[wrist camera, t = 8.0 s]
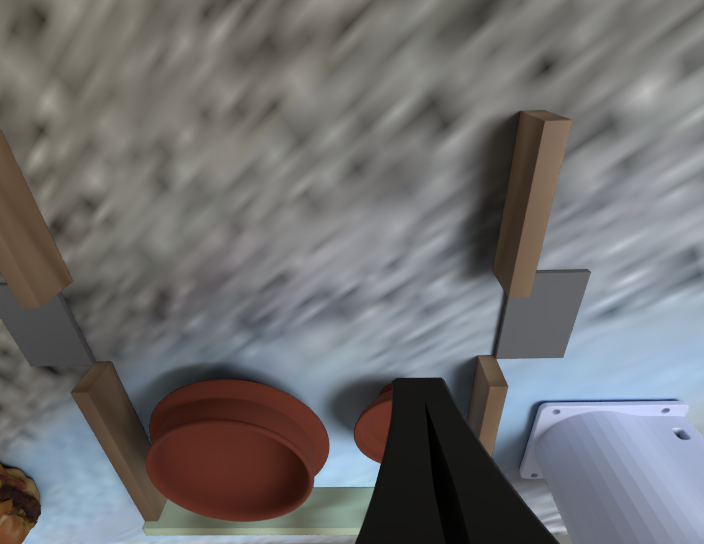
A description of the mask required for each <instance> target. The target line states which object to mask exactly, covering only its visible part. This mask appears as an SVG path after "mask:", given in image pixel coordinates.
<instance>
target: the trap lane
mask: <svg viewBox="0 0 704 544" xmlns="http://www.w3.org/2000/svg"><path fill="white" fill-rule="evenodd" d="M571 124H572V120H571V119H568V118H565V117H562V116H559V115H556V114H554V113H551V112H548V111H545V110H538V111H521V113H520V118H519V124H518V130H517V136H516V141H515V147H514V153H513V159H512V164H511V170H510V176H509V182H508V187H507V193H506V199H505V204H504V210H503V216H502V222H501V227H500V233H499V239H498V245H497V250H496V256H495V262H494V268H493V273H494V274H495V276H496V278H497V280H498V281H499V283H500V285H501V286H502V288H503V290H504V291H505V293H506V295H507V296H508V298H530V294H531V290H532V286H533V282H534V277H535V273H536V269H537V265H538V261H539V257H540V252H541V248H542V244H543V240H544V236H545V232H546V227H547V223H548V219H549V215H550V211H551V207H552V203H553V198H554V194H555V190H556V186H557V182H558V178H559V173H560V169H561V165H562V161H563V157H564V153H565V148H566V144H567V140H568V136H569V132H570V128H571ZM0 272H1V274H2V276H3V278H4V279H5V281H6V283H7V285H8V286H9V288H10V290H11V291H12V293H13V295H14V297H15V298H16V300H17V302H18V303H19V305H20V307H21V308H41V307H42V306H44V305H45V304H46V303H47V302H49V301H50V300H51V299H52V298H53V297H55V296H56V295H57V294H58V293H59V292H61V291H62V290H63V289H64V288H65V287H67V286H68V285H69V284H70V283H72V282H73V280H72V278H71V276H70V274H69V272H68V270H67V268H66V266H65V263H64V261H63V259H62V257H61V255H60V253H59V251H58V249H57V247H56V245H55V242H54V240H53V238H52V236H51V234H50V232H49V230H48V228H47V226H46V224H45V221H44V219H43V217H42V215H41V213H40V211H39V209H38V207H37V205H36V203H35V200H34V198H33V196H32V194H31V192H30V190H29V188H28V186H27V184H26V182H25V179H24V177H23V175H22V173H21V171H20V169H19V167H18V165H17V163H16V161H15V158H14V156H13V154H12V152H11V150H10V148H9V146H8V144H7V142H6V140H5V138H4V135H3V133H2V131H1V130H0ZM507 390H508V385H507V383H506V380H505V378H504V376H503V373H502V371H501V369H500V367H499V364H498V362H497V360H496V358H495V355H490V356H478V359H477V365H476V371H475V377H474V382H473V388H472V394H471V399H470V405H469V411H468V417H467V422H468V423H469V425H470V426H471V428H472V430H473V431H474V433H475V434H476V436H477V437H478V439H479V440H480V442H481V443H482V445H483V446H484V448H485V449H486V451H487V452H488V454H489V455H490V456H492V452H493V448H494V444H495V440H496V435H497V431H498V427H499V423H500V419H501V415H502V410H503V406H504V402H505V398H506V394H507ZM71 395H72V396H73V398H74V400H75V401H76V403H77V405H78V407H79V408H80V410H81V412H82V414H83V415H84V417H85V419H86V420H87V422H88V424H89V426H90V427H91V429H92V431H93V432H94V434H95V436H96V438H97V439H98V441H99V443H100V444H101V446H102V448H103V450H104V451H105V453H106V455H107V457H108V458H109V460H110V462H111V463H112V465H113V467H114V469H115V470H116V472H117V474H118V475H119V477H120V479H121V481H122V482H123V484H124V486H125V487H126V489H127V491H128V493H129V494H130V496H131V498H132V500H133V501H134V503H135V505H136V506H137V508H138V510H139V512H140V513H141V515H142V517H143V518H144V520H145V523H144V525H143V528H142V529H143V531H144V533H145V534H146V535H358V534H359V532H360V529H361V526H362V524H363V521H364V518H365V515H366V512H367V509H368V506H369V503H370V500H371V497H372V494H373V490H374V488H313V489H312V492H311V494H310V496H309V497H308V498H307V500H306V501H305V502H304V503H303V504H302V505H301V506H300V507H298V508H297V509H295V510H294V511H292V512H290V513H288V514H285V515H283V516H280V517H277V518H273V519H269V520H263V521H254V522H235V521H225V520H219V519H214V518H210V517H206V516H202V515H199V514H196V513H194V512H191V511H189V510H186V509H184V508H182V507H180V506H178V505H177V504H175V503H173V502H172V501H170V500H169V499H167V498H166V497H165V496H164V495H163V494H161V493H160V492H159V491H158V490H157V489H156V487H155V486H154V485H153V483H152V482H151V480H150V478H149V476H148V474H147V471H146V464H145V461H146V455H147V452H148V449H149V448H150V446H151V444H150V442H149V440H148V438H147V436H146V433H145V431H144V429H143V427H142V425H141V423H140V421H139V419H138V417H137V415H136V412H135V410H134V408H133V406H132V404H131V402H130V400H129V398H128V396H127V394H126V391H125V389H124V387H123V385H122V383H121V381H120V379H119V377H118V375H117V373H116V370H115V368H114V366H113V364H112V362H95V364H94V365H93V366H92V367H91V368H90V370H89V371H88V372H87V373H86V374H85V376H84V377H83V378H82V379H81V380H80V382H79V383H78V384H77V385H76V387H75V388H74V389H73V390H72V391H71Z"/></svg>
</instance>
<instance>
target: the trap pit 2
mask: <svg viewBox="0 0 704 544" xmlns="http://www.w3.org/2000/svg"><path fill="white" fill-rule="evenodd" d="M590 273H591V272H590V271H589V270H588V269H582V270H539V271H536V273H535V277H534V282H533V286H532V290H531V294H530V298H508V296H507V297H506V302H505V307H504V312H503V316H502V321H501V326H500V331H499V336H498V341H497V346H496V351H495V358H496V359H518V358H563V356H564V353H565V350H566V347H567V344H568V341H569V338H570V335H571V332H572V329H573V326H574V323H575V320H576V316H577V313H578V310H579V307H580V304H581V301H582V298H583V295H584V292H585V289H586V286H587V283H588V280H589V276H590Z"/></svg>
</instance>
